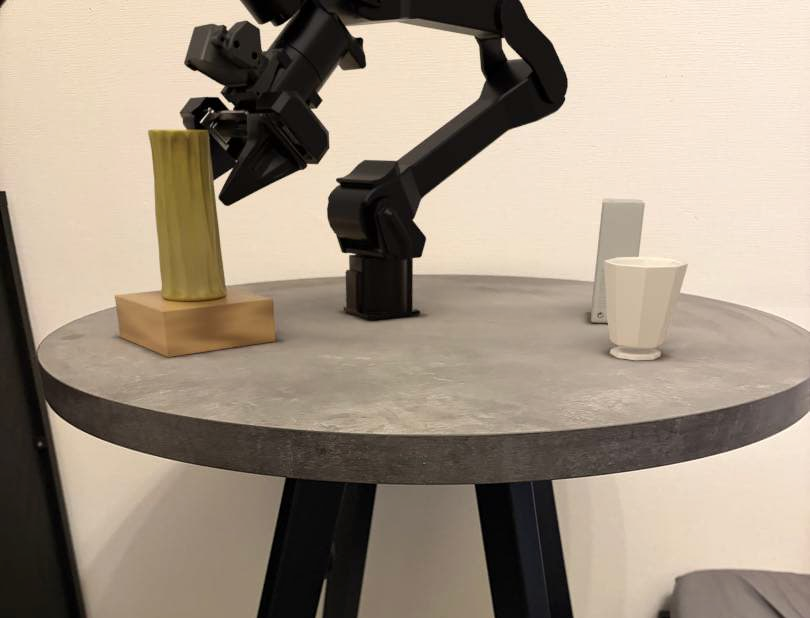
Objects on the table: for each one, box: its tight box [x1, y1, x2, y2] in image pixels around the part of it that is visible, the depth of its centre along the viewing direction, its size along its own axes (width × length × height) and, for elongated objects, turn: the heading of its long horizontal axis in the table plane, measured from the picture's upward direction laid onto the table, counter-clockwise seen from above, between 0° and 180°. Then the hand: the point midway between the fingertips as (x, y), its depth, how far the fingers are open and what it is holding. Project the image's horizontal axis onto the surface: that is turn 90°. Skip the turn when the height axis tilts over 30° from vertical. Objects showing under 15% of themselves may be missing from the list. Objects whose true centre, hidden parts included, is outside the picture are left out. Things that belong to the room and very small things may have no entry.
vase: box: [147, 129, 227, 301], centre depth 79 cm, size 6×6×14 cm
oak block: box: [114, 286, 276, 358], centre depth 83 cm, size 11×11×4 cm
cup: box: [604, 256, 689, 361], centre depth 78 cm, size 7×10×8 cm
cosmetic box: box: [590, 198, 646, 324], centre depth 91 cm, size 6×4×12 cm
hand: (199, 199), depth 79 cm, fingers open, 9 cm apart
